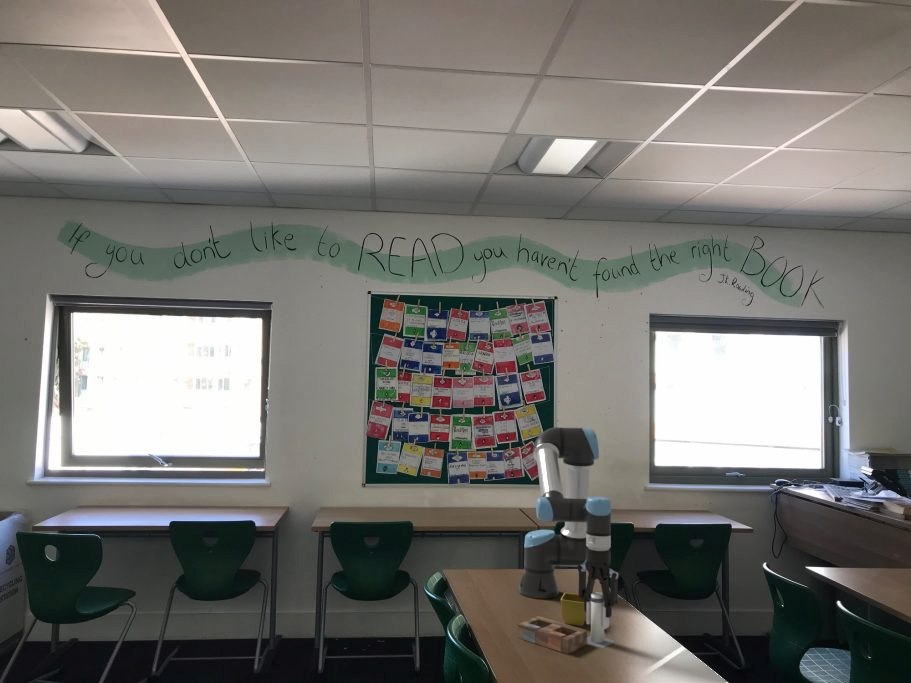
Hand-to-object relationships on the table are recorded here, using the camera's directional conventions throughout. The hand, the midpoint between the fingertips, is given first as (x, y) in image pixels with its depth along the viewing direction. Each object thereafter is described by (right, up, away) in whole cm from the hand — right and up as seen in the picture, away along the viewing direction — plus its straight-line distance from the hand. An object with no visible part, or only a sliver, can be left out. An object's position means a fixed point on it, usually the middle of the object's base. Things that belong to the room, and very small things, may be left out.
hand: (597, 625), depth 201 cm
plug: (0, -5, 0) cm, 5 cm away
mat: (0, -6, 0) cm, 6 cm away
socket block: (-14, -5, -1) cm, 15 cm away
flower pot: (-4, -7, +16) cm, 18 cm away
